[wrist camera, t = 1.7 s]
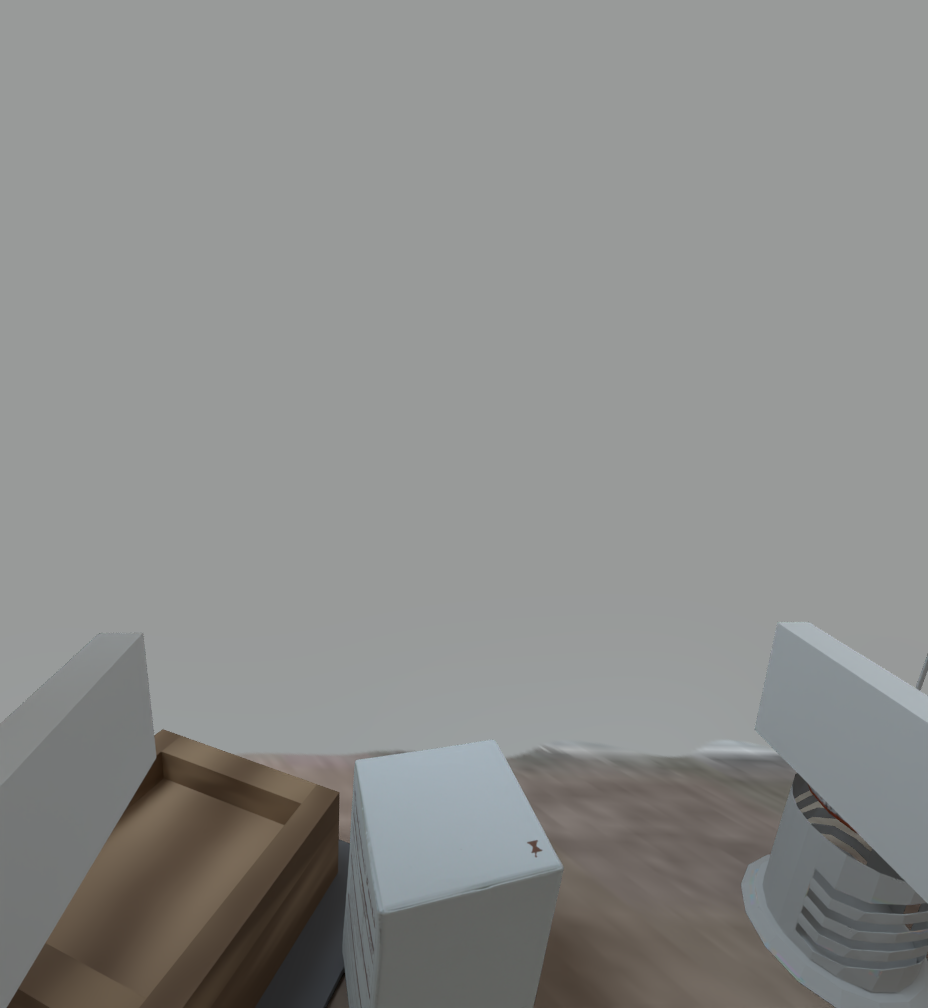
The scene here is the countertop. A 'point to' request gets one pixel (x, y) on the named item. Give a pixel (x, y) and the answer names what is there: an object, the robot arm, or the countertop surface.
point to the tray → (192, 888)
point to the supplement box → (446, 883)
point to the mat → (314, 951)
